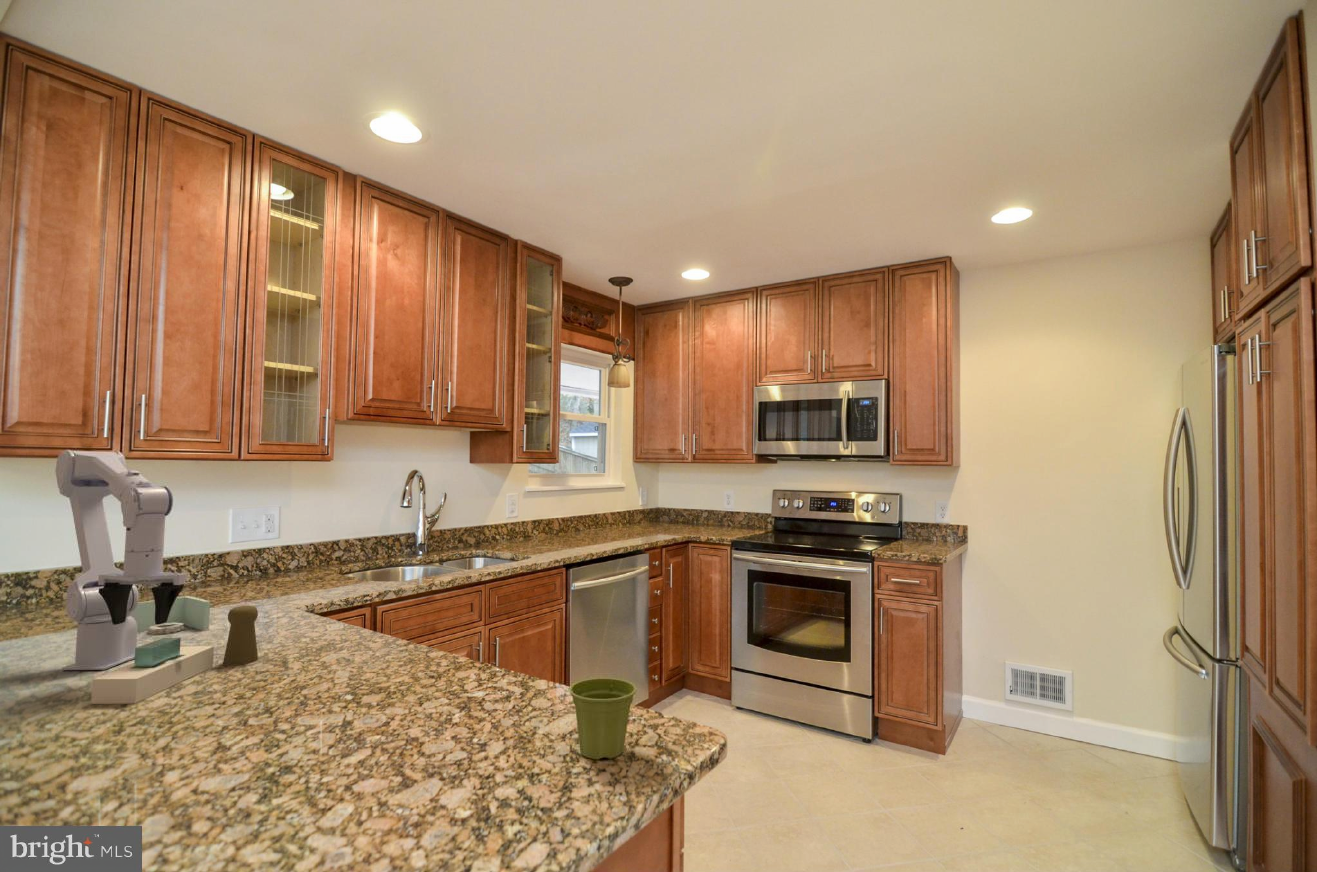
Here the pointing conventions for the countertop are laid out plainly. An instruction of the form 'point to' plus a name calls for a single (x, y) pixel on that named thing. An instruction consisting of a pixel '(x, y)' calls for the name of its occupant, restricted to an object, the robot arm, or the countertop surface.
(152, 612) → the right angle wall
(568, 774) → the countertop surface
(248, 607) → the cork
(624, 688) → the plant pot
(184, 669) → the rail
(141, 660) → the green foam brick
